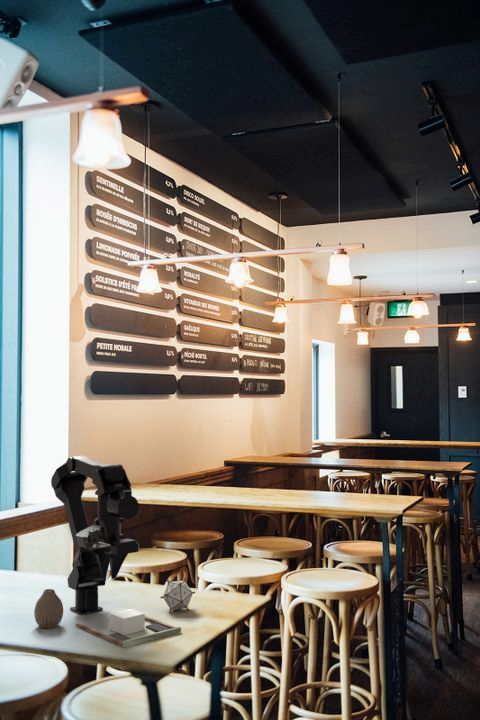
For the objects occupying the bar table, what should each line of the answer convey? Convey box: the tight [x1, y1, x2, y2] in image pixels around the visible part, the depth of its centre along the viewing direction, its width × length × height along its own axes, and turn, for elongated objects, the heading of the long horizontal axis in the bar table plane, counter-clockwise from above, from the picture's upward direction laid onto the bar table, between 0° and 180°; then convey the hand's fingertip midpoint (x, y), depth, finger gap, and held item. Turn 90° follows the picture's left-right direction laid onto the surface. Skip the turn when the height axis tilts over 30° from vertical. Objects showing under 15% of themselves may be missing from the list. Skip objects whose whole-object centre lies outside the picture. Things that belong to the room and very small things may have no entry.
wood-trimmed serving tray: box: [75, 615, 182, 648], centre depth 185 cm, size 21×16×1 cm
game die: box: [159, 577, 196, 613], centre depth 202 cm, size 9×8×10 cm
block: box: [109, 608, 146, 636], centre depth 185 cm, size 6×6×4 cm
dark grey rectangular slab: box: [108, 623, 170, 641], centre depth 181 cm, size 6×14×1 cm, turn 132°
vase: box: [33, 588, 64, 630], centre depth 188 cm, size 7×7×9 cm
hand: (108, 577), depth 192 cm, fingers open, 4 cm apart
